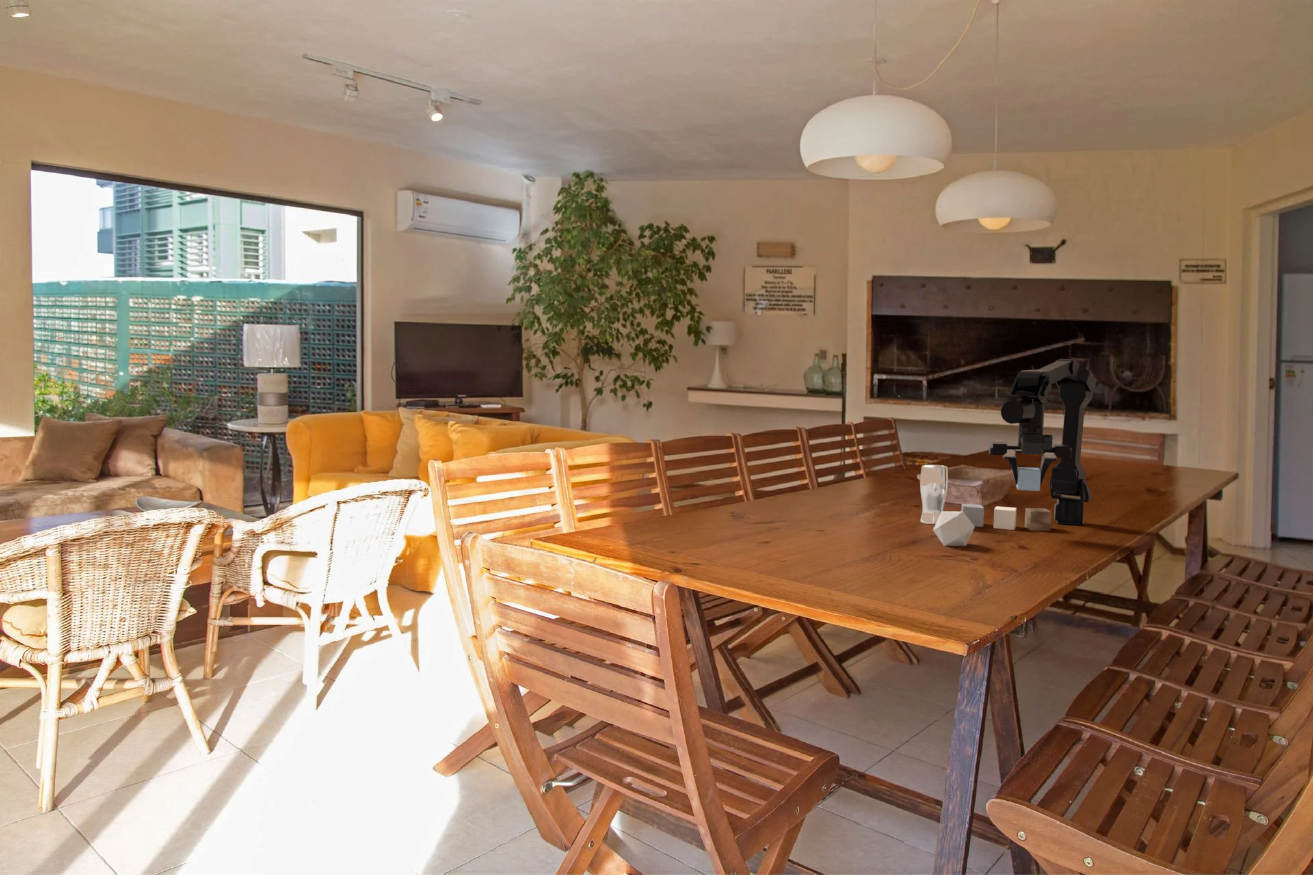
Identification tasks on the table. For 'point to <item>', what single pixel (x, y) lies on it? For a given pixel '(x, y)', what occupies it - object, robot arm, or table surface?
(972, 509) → the grey cube
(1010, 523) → the cream cube
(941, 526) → the die
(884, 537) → the table surface
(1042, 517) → the walnut cube
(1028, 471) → the bluish grey cube
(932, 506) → the beer glass
